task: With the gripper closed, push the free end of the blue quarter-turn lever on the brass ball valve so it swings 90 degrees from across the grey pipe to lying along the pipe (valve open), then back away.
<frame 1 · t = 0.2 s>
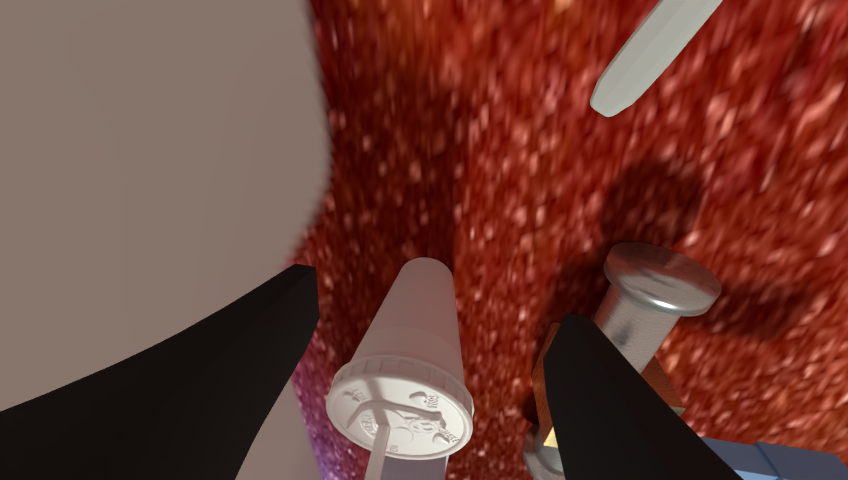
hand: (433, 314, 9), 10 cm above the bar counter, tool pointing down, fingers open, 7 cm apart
smoothie: (426, 277, 22), on the bar counter
lever: (707, 465, 18), point 6 cm above the bar counter, hinge at -90.0°
valve pipe: (582, 356, 23), on the bar counter
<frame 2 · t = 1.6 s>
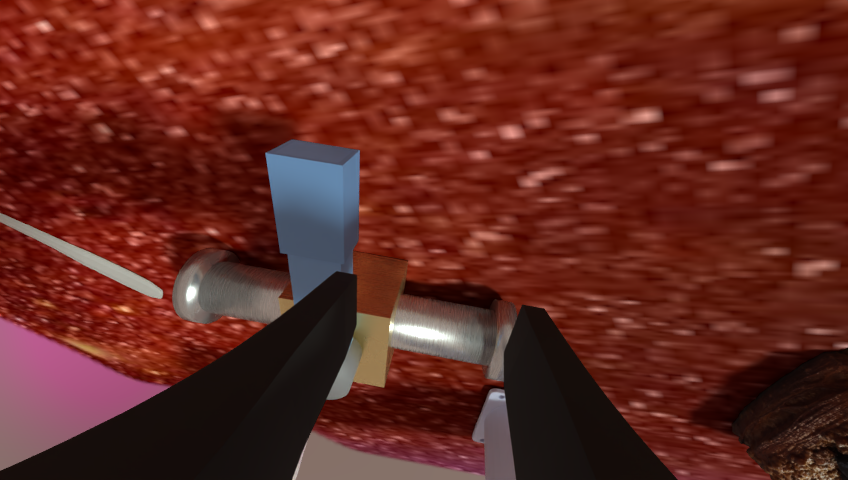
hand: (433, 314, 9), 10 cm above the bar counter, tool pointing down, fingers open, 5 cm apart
pastry: (836, 401, 23), on the bar counter
lever: (323, 294, 14), point 6 cm above the bar counter, hinge at -90.0°
valve pipe: (362, 287, 22), on the bar counter
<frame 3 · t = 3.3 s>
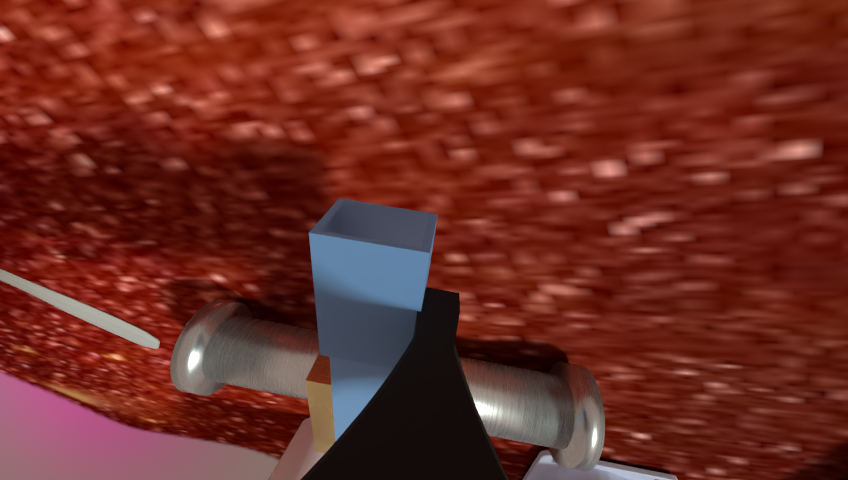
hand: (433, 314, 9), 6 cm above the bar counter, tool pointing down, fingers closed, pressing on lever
smoothie: (324, 427, 26), on the bar counter
lever: (370, 392, 11), point 6 cm above the bar counter, hinge at -89.9°, touching gripper
valve pipe: (397, 342, 19), on the bar counter
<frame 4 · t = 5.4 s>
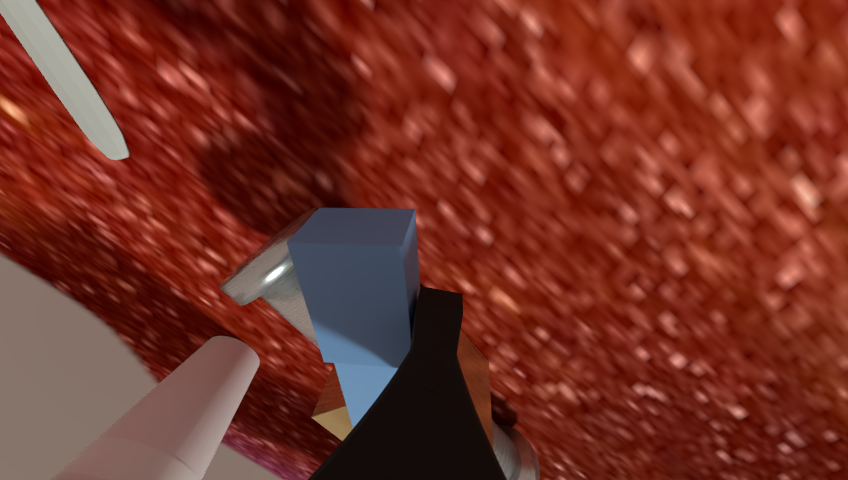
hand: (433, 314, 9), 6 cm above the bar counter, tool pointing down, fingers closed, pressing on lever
smoothie: (235, 352, 22), on the bar counter
lever: (384, 395, 11), point 6 cm above the bar counter, hinge at -32.9°, touching gripper
valve pipe: (418, 346, 19), on the bar counter
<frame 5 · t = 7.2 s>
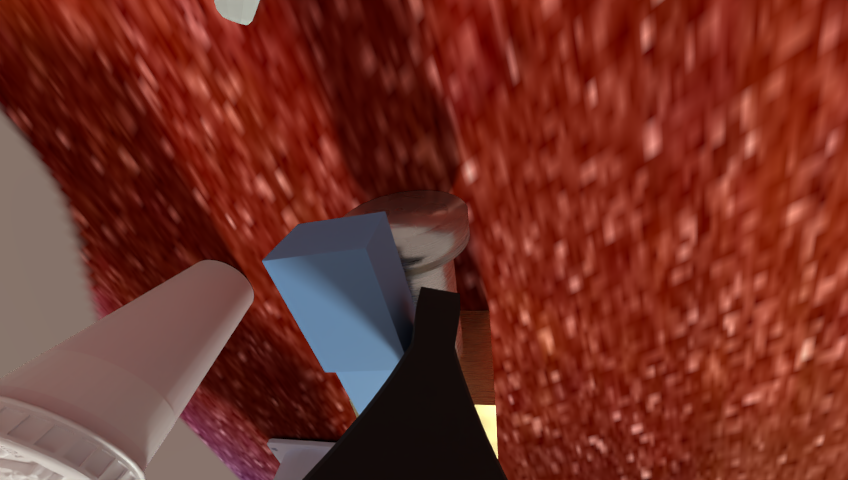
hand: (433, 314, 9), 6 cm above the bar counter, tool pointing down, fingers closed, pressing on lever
smoothie: (225, 283, 18), on the bar counter
lever: (395, 400, 11), point 6 cm above the bar counter, hinge at 4.5°, touching gripper
valve pipe: (439, 349, 19), on the bar counter
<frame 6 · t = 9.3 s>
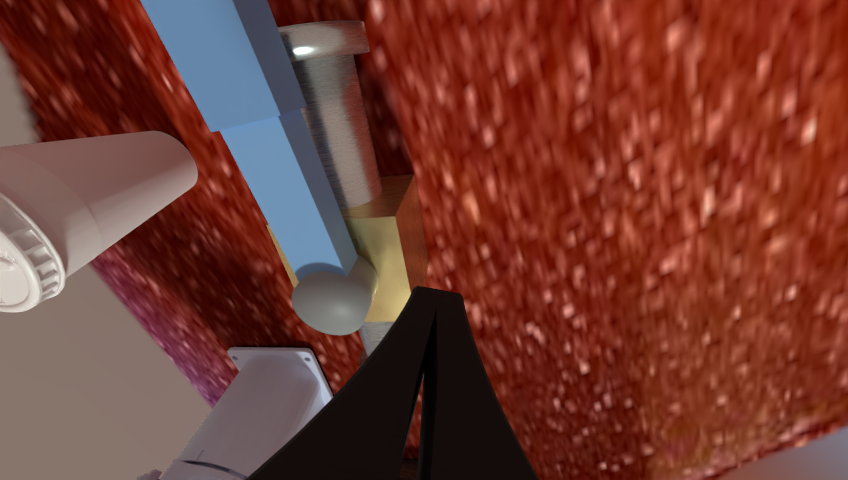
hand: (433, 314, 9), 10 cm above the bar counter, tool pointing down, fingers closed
pastry: (415, 478, 38), on the bar counter
smoothie: (170, 160, 19), on the bar counter
lever: (290, 190, 12), point 6 cm above the bar counter, hinge at 4.7°
valve pipe: (374, 224, 20), on the bar counter
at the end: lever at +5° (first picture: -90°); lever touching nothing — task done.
